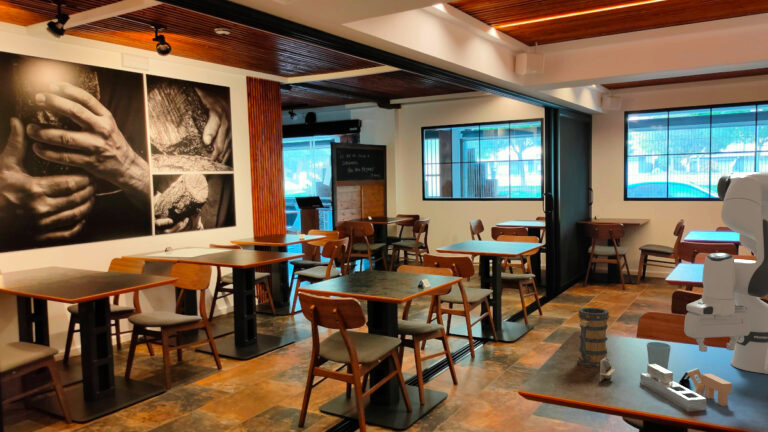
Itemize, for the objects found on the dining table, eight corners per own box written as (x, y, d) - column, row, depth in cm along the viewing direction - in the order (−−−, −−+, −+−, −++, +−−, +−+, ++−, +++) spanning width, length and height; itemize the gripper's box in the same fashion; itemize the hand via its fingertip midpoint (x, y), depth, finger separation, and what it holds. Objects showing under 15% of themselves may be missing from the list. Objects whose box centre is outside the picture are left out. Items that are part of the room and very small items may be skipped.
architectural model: (615, 380, 201) (615, 358, 200) (609, 385, 195) (609, 364, 195) (605, 378, 203) (605, 357, 202) (598, 383, 197) (599, 362, 197)
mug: (616, 362, 218) (617, 310, 217) (598, 374, 205) (599, 318, 204) (583, 355, 227) (583, 305, 225) (564, 366, 214) (564, 313, 213)
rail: (656, 382, 196) (656, 362, 196) (706, 410, 172) (706, 387, 172) (640, 383, 195) (640, 363, 195) (688, 411, 172) (688, 388, 171)
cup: (675, 375, 203) (675, 346, 202) (659, 378, 200) (659, 349, 199) (657, 369, 210) (657, 340, 209) (641, 372, 207) (641, 343, 206)
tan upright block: (710, 395, 184) (710, 373, 184) (731, 405, 175) (731, 383, 175) (701, 395, 184) (701, 374, 183) (722, 406, 175) (722, 384, 174)
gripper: (740, 303, 182) (739, 346, 183) (681, 305, 179) (680, 349, 180) (756, 307, 176) (754, 351, 177) (695, 309, 173) (694, 355, 174)
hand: (716, 350), depth 178 cm, fingers open, 8 cm apart
